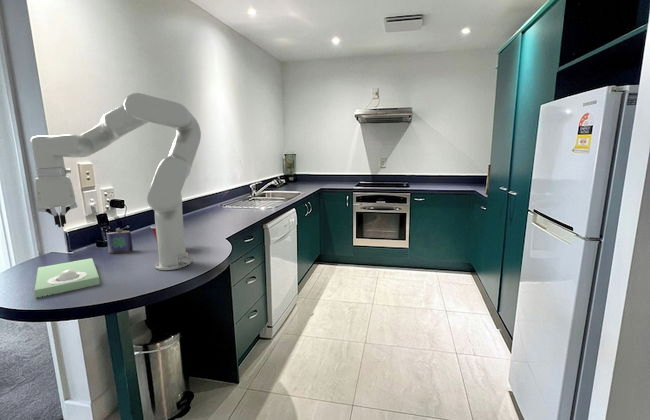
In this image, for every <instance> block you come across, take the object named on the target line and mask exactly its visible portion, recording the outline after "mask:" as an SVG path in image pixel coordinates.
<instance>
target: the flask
mask: <svg viewBox="0 0 650 420" xmlns="http://www.w3.org/2000/svg"><path fill="white" fill-rule="evenodd" d="M105 235H106V242H107V247H108V248H107V250H108V253H109V254H120V253H129V252H130V253H131V252H133V251H134V249H133V242H132V234H131V231H130V230H121V227H118V228H116V229H115V232H114V231H113V232H107V233H106V234H105Z"/></svg>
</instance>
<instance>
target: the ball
mask: <svg viewBox="0 0 650 420" xmlns="http://www.w3.org/2000/svg"><path fill="white" fill-rule="evenodd" d="M77 277H78V275H77V273H76V272H75V271H73V270H65V271H63V272H62V273H61V274H60V275H59V278H58V279H59V281H67V280H72V279H75V278H77Z"/></svg>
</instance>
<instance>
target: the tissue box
mask: <svg viewBox="0 0 650 420" xmlns="http://www.w3.org/2000/svg"><path fill="white" fill-rule="evenodd" d="M65 270H73V271H75V272H76V273H77V275H78V277H77V278H75V279H72V280H67V281H59V279H58V278H59V275H60V274H61V273H62V272H63V271H65ZM99 285H101V281H100V275H99V274H98V270H97V267H96V265H95V262H94V260H93V258H92V257H91V258H86V259H85V258H84V259H78V260H74V261H69V262H62V263H56V264H52V265H51V264H50V265H46V266H38V267H37V272H36V280H35V286H34V294H35V295H34V296H35V298H36V299H38V298H37V297H39V298H43V297H48V296H53V295H56V294H61V293H65V292H66V293H67V292H70V291H75V290H79V289H84V288H89V287H93V286H99ZM52 294H53V295H52ZM47 295H48V296H47ZM42 296H43V297H42Z"/></svg>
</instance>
